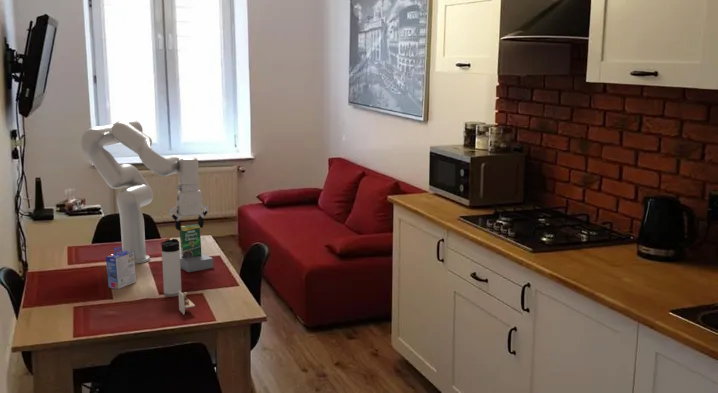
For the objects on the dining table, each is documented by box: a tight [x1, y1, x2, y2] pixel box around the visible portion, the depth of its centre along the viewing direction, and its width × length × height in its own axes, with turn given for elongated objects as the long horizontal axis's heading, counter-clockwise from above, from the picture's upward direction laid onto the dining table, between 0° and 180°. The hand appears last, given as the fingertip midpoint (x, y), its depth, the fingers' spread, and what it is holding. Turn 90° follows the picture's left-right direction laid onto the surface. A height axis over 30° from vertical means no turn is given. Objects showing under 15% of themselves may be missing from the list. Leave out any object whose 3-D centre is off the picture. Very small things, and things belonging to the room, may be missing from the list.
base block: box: [180, 252, 214, 273], centre depth 302 cm, size 11×16×4 cm
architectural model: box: [178, 291, 196, 315], centre depth 247 cm, size 3×7×7 cm, turn 31°
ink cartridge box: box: [105, 246, 137, 290], centre depth 275 cm, size 10×6×14 cm, turn 155°
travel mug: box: [161, 238, 183, 298], centre depth 264 cm, size 6×7×20 cm
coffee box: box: [179, 223, 202, 258], centre depth 300 cm, size 8×3×13 cm, turn 117°
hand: (189, 228), depth 299 cm, fingers open, 9 cm apart
